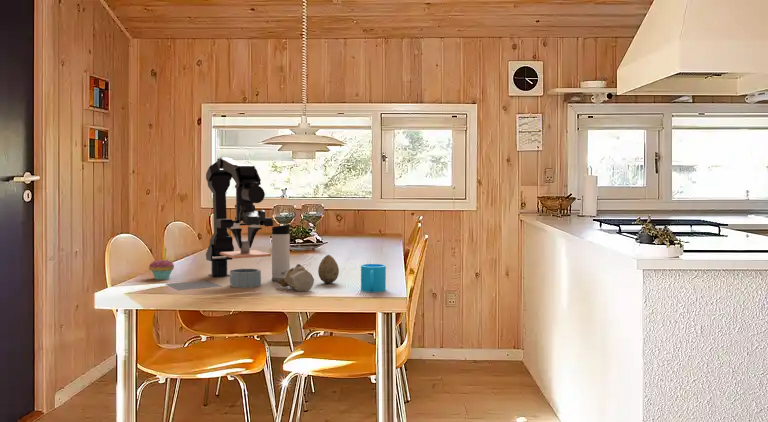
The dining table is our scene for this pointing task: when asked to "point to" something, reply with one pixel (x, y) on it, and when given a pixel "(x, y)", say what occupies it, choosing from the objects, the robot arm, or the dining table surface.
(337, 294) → the dining table surface
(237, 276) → the bowl
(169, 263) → the cupcake
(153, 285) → the dining table surface
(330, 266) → the decorative egg
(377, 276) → the mug
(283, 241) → the travel mug
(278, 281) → the ceramic sculpture
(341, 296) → the dining table surface
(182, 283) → the mat
